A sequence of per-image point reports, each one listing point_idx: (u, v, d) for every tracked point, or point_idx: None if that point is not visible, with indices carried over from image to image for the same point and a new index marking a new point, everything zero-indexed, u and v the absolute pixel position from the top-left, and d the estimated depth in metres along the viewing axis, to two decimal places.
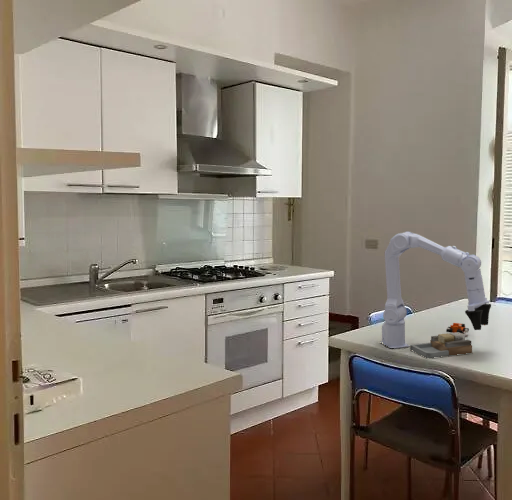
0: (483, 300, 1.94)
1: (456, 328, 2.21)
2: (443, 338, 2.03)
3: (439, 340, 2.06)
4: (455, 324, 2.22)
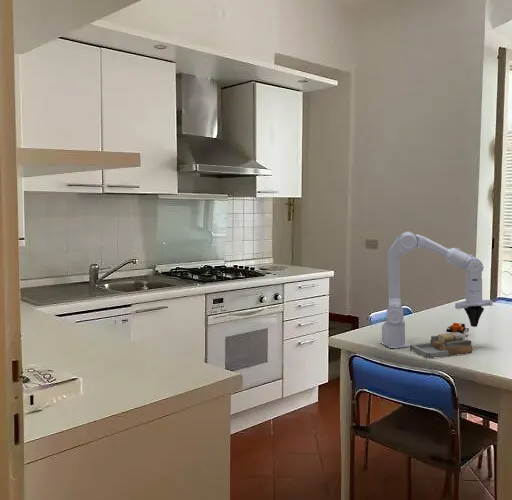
0: (475, 302, 2.04)
1: (456, 328, 2.21)
2: (443, 338, 2.03)
3: (439, 340, 2.06)
4: (455, 324, 2.22)
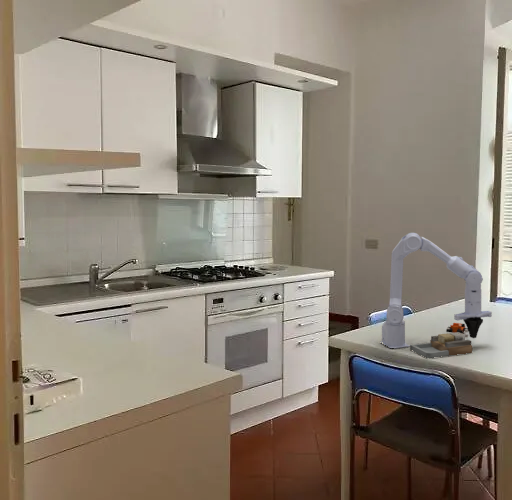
0: (474, 313, 2.04)
1: (456, 328, 2.21)
2: (443, 338, 2.03)
3: (439, 340, 2.06)
4: (455, 324, 2.22)
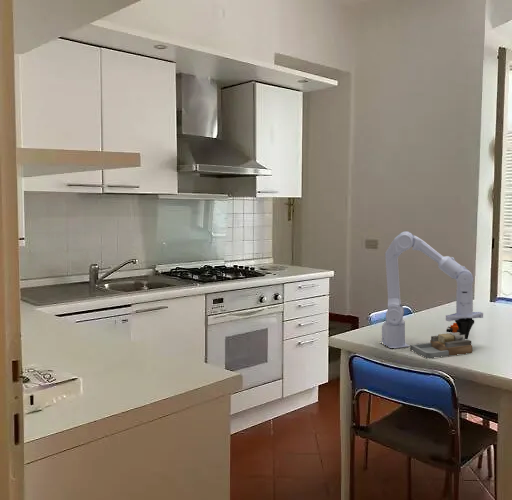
0: (466, 314, 2.03)
1: (456, 328, 2.21)
2: (443, 338, 2.03)
3: (439, 340, 2.06)
4: (455, 324, 2.22)
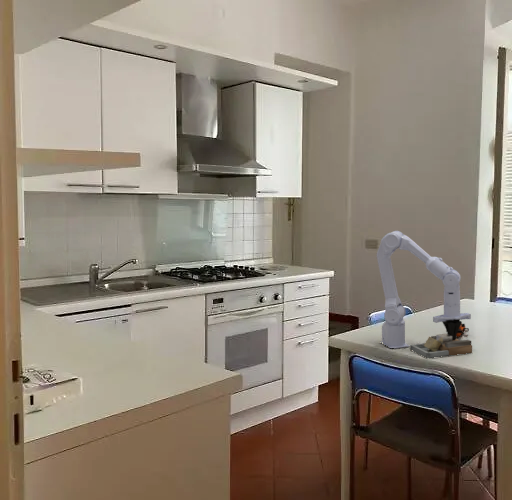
0: (453, 315, 2.02)
1: None
2: (429, 349, 2.02)
3: (429, 349, 2.05)
4: None
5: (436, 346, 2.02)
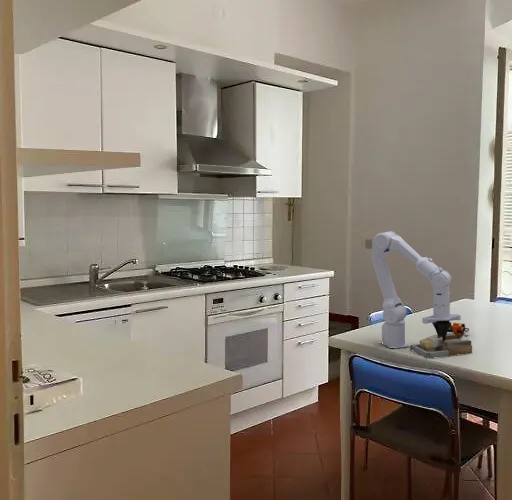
0: (443, 316, 2.01)
1: (456, 328, 2.21)
2: None
3: None
4: (455, 324, 2.22)
5: (431, 346, 2.02)
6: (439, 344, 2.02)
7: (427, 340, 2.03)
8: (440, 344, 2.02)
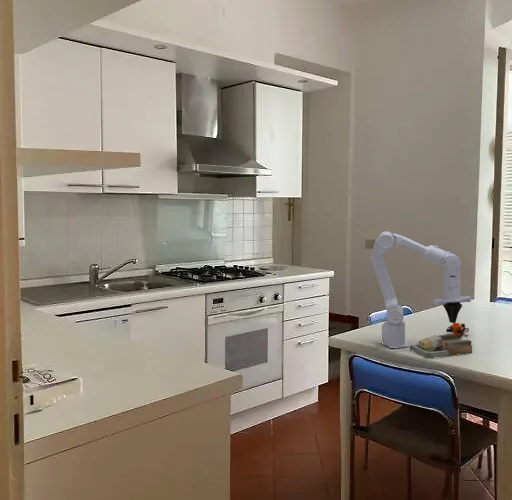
0: (453, 298, 2.06)
1: (456, 328, 2.21)
2: None
3: None
4: (455, 324, 2.22)
5: (430, 346, 2.01)
6: (438, 345, 2.02)
7: (426, 340, 2.03)
8: (439, 345, 2.02)
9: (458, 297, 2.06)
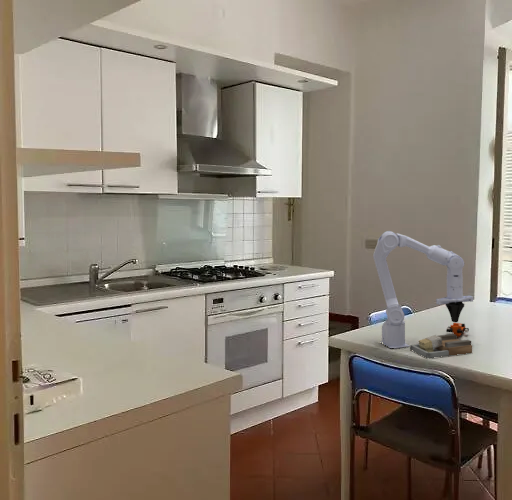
0: (456, 297, 2.07)
1: (456, 328, 2.21)
2: None
3: None
4: (455, 324, 2.22)
5: (430, 346, 2.01)
6: (438, 345, 2.02)
7: (426, 340, 2.03)
8: (439, 345, 2.02)
9: (461, 296, 2.07)
